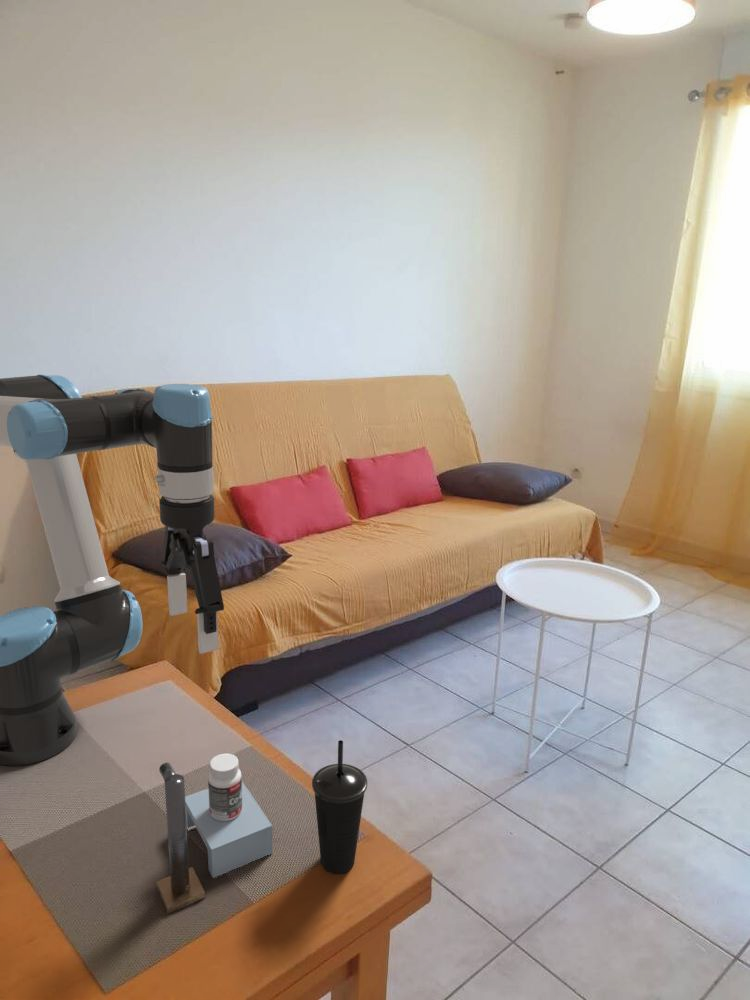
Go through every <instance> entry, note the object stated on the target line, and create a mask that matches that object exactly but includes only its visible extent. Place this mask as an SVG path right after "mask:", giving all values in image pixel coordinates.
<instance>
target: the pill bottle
mask: <svg viewBox="0 0 750 1000" xmlns="http://www.w3.org/2000/svg"><path fill="white" fill-rule="evenodd" d="M242 781H243V779H242V772H241V769H240V765H239V759H238V757H237V756H236V755H234V754H233V753H221V754H217V755H215V756H214V757H212V759H211V760H210V763H209V774H208V777H207V782H208V783H207V784H208V786H207V787H208V788H209V811H210V815H211V816H212V817H213V818H214V819H216V820H219V821H229V820H232V819H234V818H236V817H237V816H238V815H239V814H240V813H241V811H242ZM208 788H207V789H208Z"/></svg>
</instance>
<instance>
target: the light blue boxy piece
mask: <svg viewBox="0 0 750 1000" xmlns="http://www.w3.org/2000/svg"><path fill="white" fill-rule="evenodd" d="M185 806H186V825H187V827H188V828H189V827H191V826H194V825H195V826H196V830H197V832H198V834H199V836H200V837H201V839H202V841H203V843H204V845H205V847H206V848H207V862H208V865H207V866H208V872H209V871H210V873H211V875H210V876H212V877H213V878H214V877H215V876H218V875H221V876H223V875H222V874H224V873H225V872H228V871H231V870H233V869H235V870H237V869H236V868H238V867H240V866H241V867H240V868H242V866H243V865H245V864H247V865H249V864H248V863H250V862H252V861H254V862H256V861H255V860H257V859H259V860H261V859H260V858H262V857H264V856H266V857H268V856H267V855H269V856H271V855H273V824H272V823H271V821H270V820H269V818H268V817H267V816H266V814H265V813H264V811H263V809H262V808H261V806H260V805H259V804H258V802H257V801H256V799H255V798H254V796H253V795H252V793H251V792H250V790H249V788H248V787H247V786H246V785H245V783H244V782H243V780H242V811H241V813H240V814H239V815H238V816H237V817H236V818H234V819H232V820H229V821H219V820H216V819H214V818H213V817H212V816H211V815H210V811H209V788H206V789H203V790H200V791H197V792H194V793H191V794H189V795H185ZM270 854H271V855H270ZM264 858H265V857H264ZM262 859H263V858H262ZM257 861H258V860H257ZM252 863H253V862H252ZM250 864H251V863H250ZM245 866H246V865H245ZM243 867H244V866H243ZM238 869H239V868H238ZM233 871H234V870H233ZM231 872H232V871H231ZM210 873H209V874H210ZM228 873H229V872H228ZM224 875H225V874H224ZM212 877H211V878H212ZM214 879H215V878H214Z"/></svg>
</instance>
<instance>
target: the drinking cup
mask: <svg viewBox="0 0 750 1000" xmlns="http://www.w3.org/2000/svg"><path fill="white" fill-rule="evenodd" d="M343 757H344V741H343V740H338V741H337V763H333V764H328V765H326V766H323V767H322V768H320V769H319V770H317V772H315V773H314V775H313V777H312V781H311V786H312V787H311V788H312V790H313V792H314V800H315V801H314V802H315V810H316V822H317V834H318V843H319V844H318V845H319V854H320V855H319V856H320V864H321V867H322V868H323V869H324V870H325V871H326V872H328V873H330V874H334V875H340V874H343V875H344V874H345V873H348V872H349V871H350V870H351V869H352V868H354V865H355V861H356V860H355V859H356V853H357V846H358V841H359V832H360V827H361V819H362V818H361V817H362V811H363V804H364V797H365V792H366V791H367V788H368V778H367V776H366V774H365V773H364V771H363V770H361V769H360V768H358V767H356V766H354V765H351V764H346V763H343V761H344V758H343Z"/></svg>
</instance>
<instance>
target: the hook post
mask: <svg viewBox="0 0 750 1000" xmlns="http://www.w3.org/2000/svg"><path fill="white" fill-rule="evenodd" d="M174 769H175V768H173V766H172V764H171V763H170V762H164V763H162V764H161V765H160V766H159V773H160V775H161V777H162V778H163V781H164V789H165V790H164V793H165V795H164V796H165V807H166V809H165V810H166V826H167V828H166V829H167V839H168V840H167V842H168V859H169V874H170V875H168V876H167V877H163V878H161V879H159V880H157V881H155V882H156V883H155V884H156V889H157V888H158V889H157V891H158V890H159V891H158V894H159V893H160V894H159V896H160V895H161V896H160V898H161V897H162V898H161V901H162V900H163V901H162V903H163V902H164V903H163V905H165V906H164V907H165V910H166V913H167V914H169V915H170V914H171V913H173V911H174V912H175V910H176V911H179V910H180V909H179V908H181V907H182V906H183V908H185V907H186V906H185V905H187V904H189V903H191V902H194V901H196V900H198V899H201V898H203V897H205V898H206V893H205V889H204V888H203V885H202V883H201V881H200V879H199V877H198V875H197V874H196V871H195V869H194V867H193V866H190V867H189V865H190V864H189V848H188V847H189V845H188V830H187V825H186V806H185V796H186V790H185V788H186V787H185V778H184V777H185V776H183V775H182V774H180V773H179V774H178V773H176V771H175V770H174ZM201 900H202V899H201ZM184 906H185V907H184ZM181 909H182V908H181Z"/></svg>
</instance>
